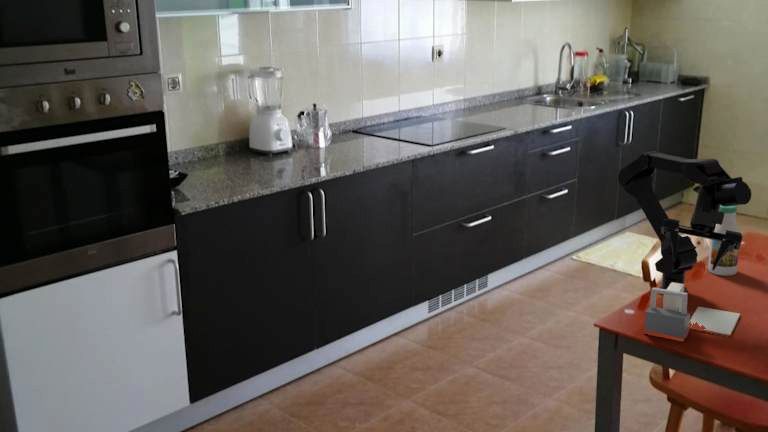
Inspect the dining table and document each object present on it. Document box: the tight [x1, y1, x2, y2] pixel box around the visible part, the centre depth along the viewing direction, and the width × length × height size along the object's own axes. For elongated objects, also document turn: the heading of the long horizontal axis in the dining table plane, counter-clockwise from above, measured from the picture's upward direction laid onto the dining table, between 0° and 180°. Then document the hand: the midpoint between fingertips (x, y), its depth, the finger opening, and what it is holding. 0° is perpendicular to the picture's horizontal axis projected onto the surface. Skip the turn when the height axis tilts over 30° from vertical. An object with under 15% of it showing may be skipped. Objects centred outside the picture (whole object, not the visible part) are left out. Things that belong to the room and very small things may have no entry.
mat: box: [690, 306, 741, 336], centre depth 196 cm, size 14×10×1 cm
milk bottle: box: [707, 205, 741, 277], centre depth 227 cm, size 8×8×20 cm
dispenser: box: [644, 287, 691, 339], centre depth 189 cm, size 6×9×11 cm, turn 58°
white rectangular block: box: [662, 282, 685, 312], centre depth 194 cm, size 8×3×10 cm, turn 148°
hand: (693, 265), depth 195 cm, fingers open, 9 cm apart
